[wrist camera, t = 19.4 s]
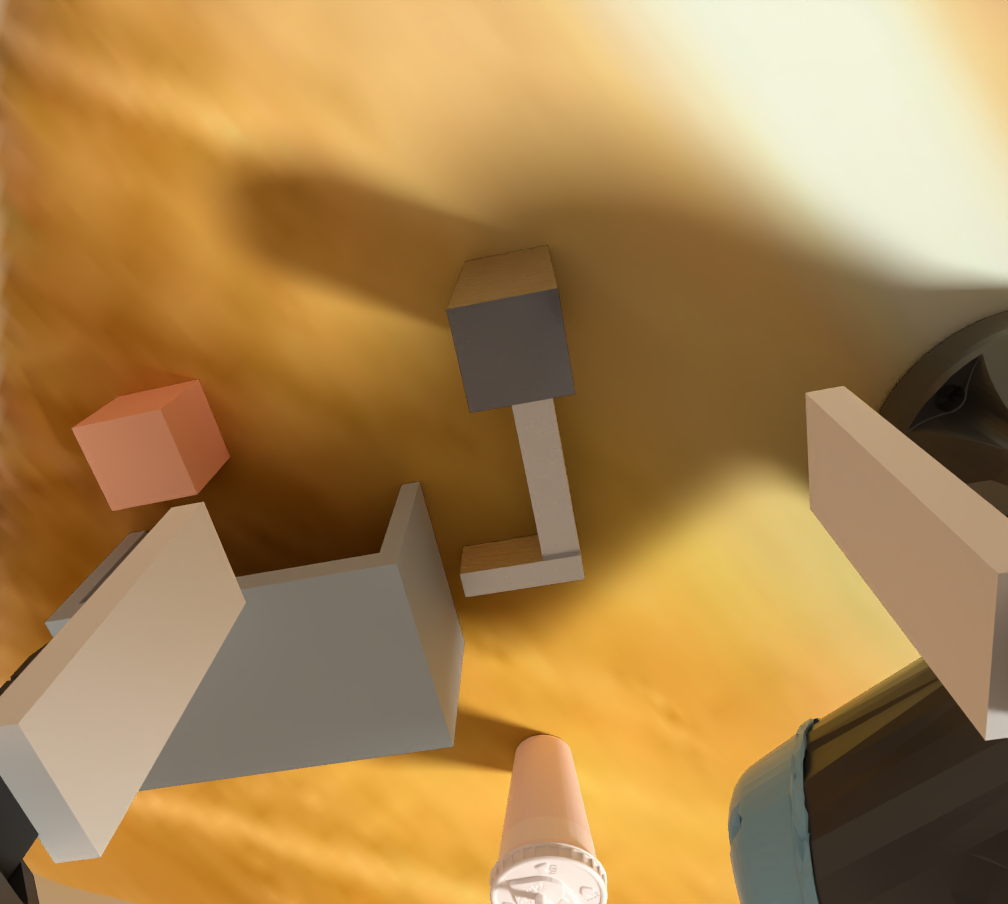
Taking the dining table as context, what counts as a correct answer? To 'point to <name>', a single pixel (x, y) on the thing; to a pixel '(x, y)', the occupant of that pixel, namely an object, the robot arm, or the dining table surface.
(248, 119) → the dining table surface
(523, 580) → the grey block with rod
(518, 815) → the smoothie
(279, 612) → the cubby
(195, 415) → the cube
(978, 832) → the robot arm
